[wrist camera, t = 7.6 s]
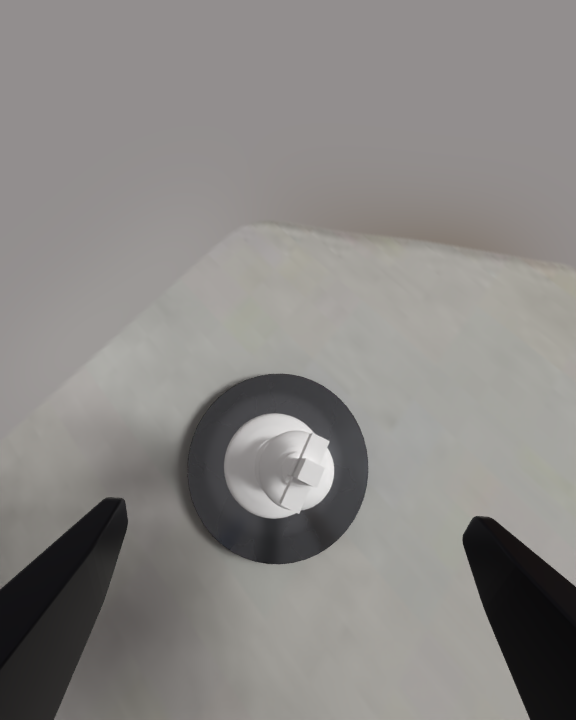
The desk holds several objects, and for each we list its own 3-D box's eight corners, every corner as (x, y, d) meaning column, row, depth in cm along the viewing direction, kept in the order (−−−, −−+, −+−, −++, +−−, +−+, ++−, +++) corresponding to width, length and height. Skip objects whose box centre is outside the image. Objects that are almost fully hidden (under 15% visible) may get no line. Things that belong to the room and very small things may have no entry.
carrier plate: (345, 581, 16) (349, 585, 15) (162, 533, 15) (159, 536, 15) (377, 401, 18) (381, 399, 18) (222, 357, 18) (221, 354, 17)
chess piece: (205, 489, 15) (135, 541, 6) (253, 397, 17) (258, 321, 7) (298, 536, 15) (378, 667, 6) (338, 440, 17) (454, 418, 7)
